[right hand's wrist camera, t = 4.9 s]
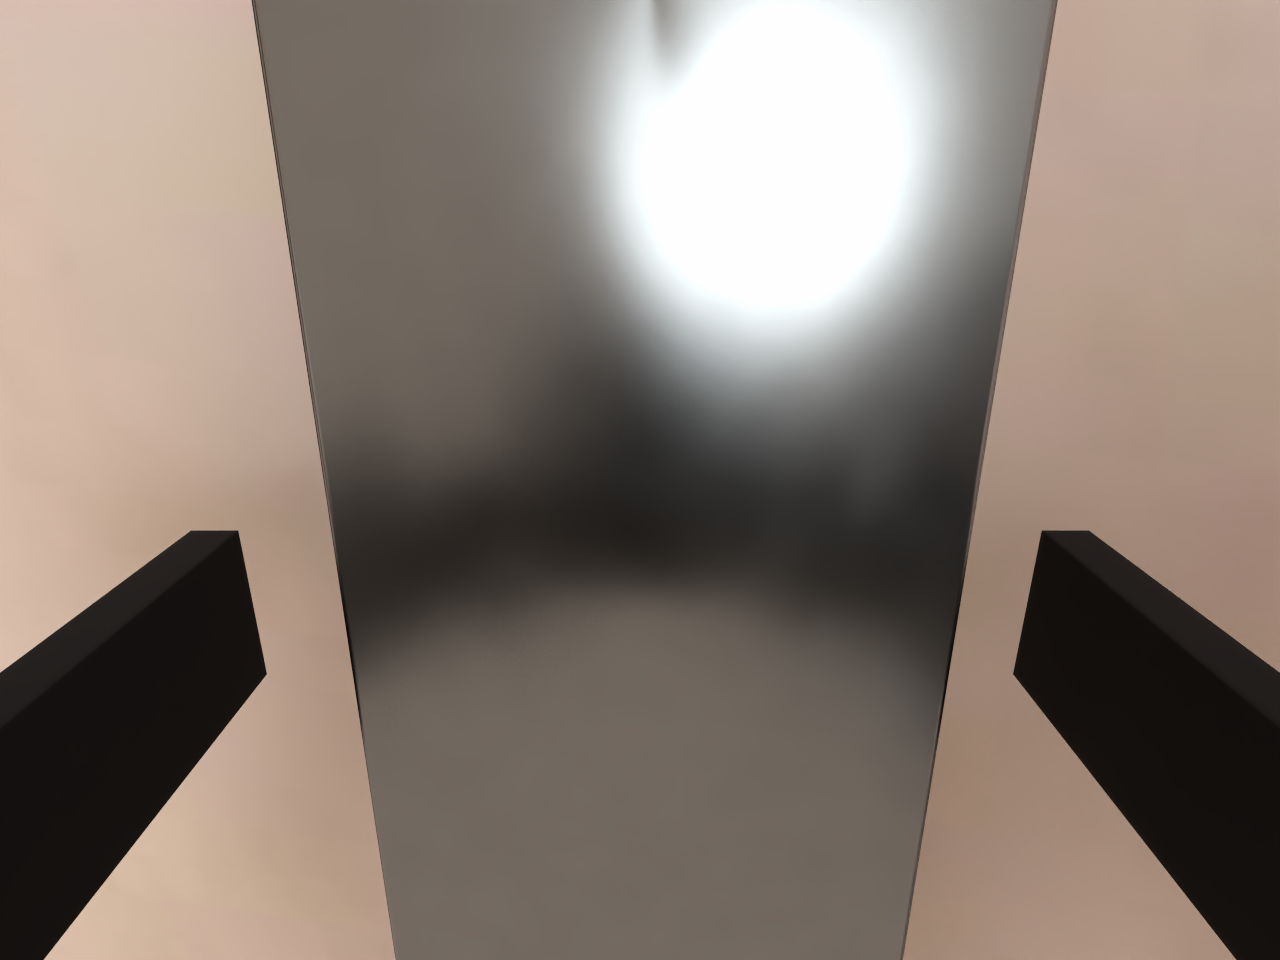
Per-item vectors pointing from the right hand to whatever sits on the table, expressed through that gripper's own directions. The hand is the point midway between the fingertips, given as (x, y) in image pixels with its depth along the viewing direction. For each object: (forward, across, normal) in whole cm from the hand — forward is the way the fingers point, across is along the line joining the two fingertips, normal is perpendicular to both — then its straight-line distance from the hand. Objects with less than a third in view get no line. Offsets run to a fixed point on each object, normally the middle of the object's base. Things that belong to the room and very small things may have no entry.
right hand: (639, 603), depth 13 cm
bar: (+4, 0, -8) cm, 9 cm away
